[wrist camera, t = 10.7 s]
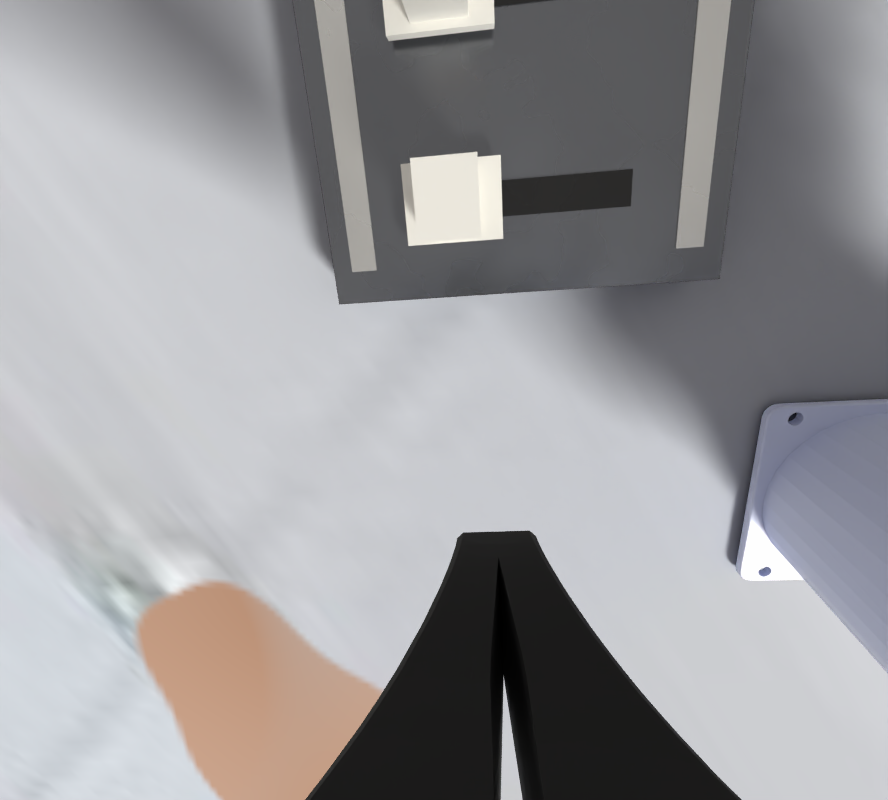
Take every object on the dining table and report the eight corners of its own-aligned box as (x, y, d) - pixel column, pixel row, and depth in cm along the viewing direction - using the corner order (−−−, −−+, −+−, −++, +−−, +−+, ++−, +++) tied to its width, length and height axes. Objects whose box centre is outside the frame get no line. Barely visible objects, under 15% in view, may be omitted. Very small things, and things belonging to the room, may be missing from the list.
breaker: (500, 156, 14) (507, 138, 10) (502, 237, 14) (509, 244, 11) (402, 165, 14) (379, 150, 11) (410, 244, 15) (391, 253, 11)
